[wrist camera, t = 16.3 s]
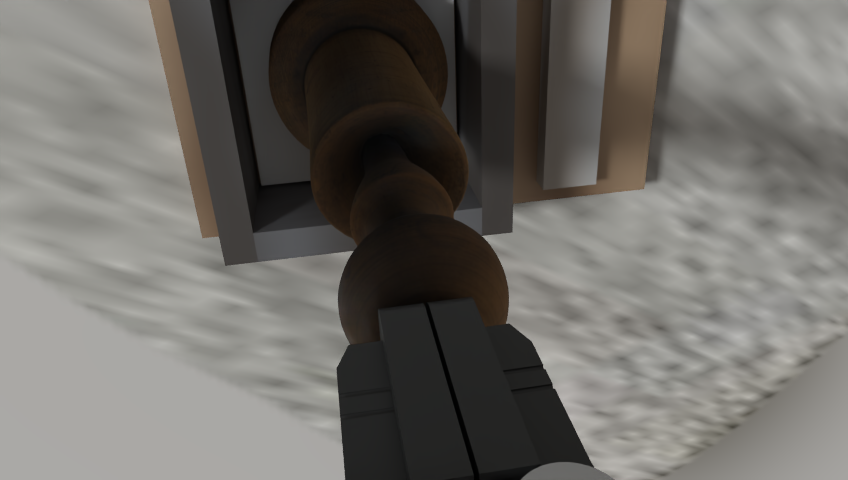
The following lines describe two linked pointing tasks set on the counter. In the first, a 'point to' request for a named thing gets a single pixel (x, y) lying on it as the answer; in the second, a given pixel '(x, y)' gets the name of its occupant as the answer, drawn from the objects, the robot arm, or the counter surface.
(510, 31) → the socket board
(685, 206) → the counter surface
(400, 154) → the brown wooden chess pawn
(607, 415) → the counter surface
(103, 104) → the counter surface
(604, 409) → the counter surface
